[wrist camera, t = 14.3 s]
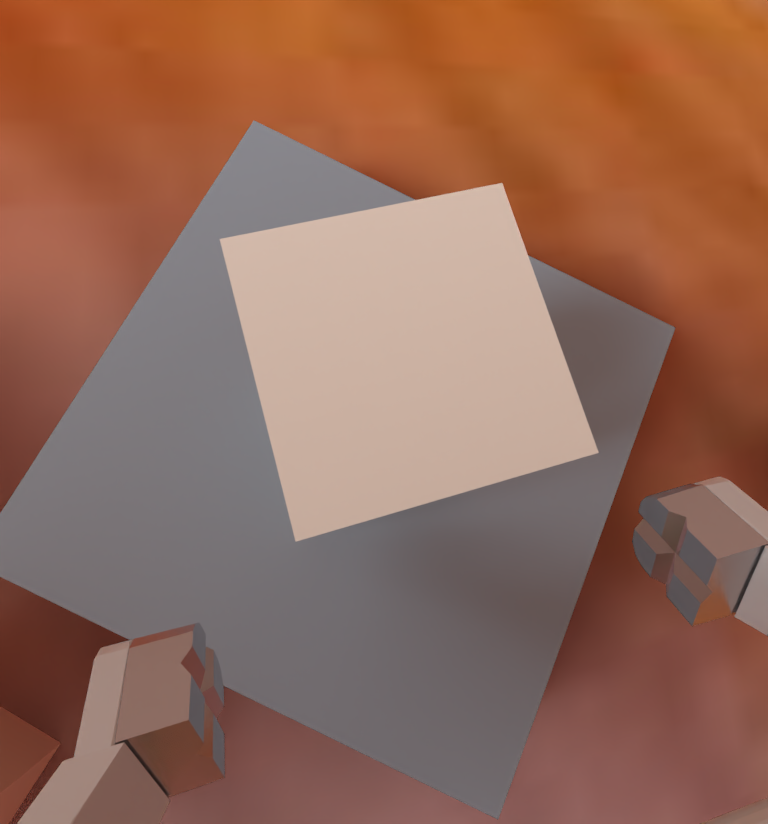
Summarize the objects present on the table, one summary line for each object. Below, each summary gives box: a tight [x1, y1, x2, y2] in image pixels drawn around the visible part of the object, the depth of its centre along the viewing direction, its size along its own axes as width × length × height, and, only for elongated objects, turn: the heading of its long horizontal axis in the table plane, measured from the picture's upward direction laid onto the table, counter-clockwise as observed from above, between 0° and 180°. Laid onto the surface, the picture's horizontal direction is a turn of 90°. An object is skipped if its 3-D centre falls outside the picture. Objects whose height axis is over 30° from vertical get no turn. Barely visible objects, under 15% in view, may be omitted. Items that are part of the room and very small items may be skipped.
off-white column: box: [220, 183, 599, 542], centre depth 13 cm, size 5×5×8 cm
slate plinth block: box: [0, 121, 675, 819], centre depth 19 cm, size 16×16×5 cm
